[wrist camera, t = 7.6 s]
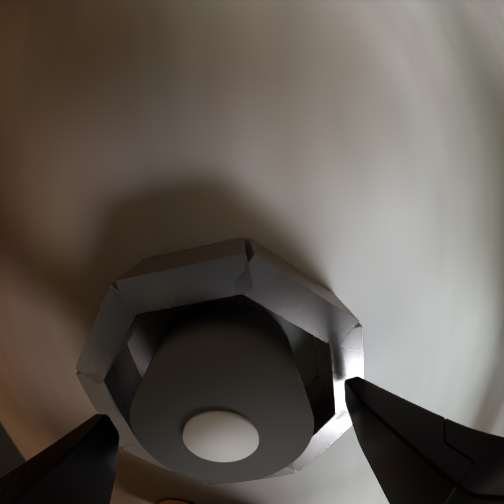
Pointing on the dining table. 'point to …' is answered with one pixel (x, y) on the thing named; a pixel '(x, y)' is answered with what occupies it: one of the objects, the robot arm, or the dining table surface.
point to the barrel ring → (209, 288)
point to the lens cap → (223, 396)
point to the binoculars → (172, 502)
